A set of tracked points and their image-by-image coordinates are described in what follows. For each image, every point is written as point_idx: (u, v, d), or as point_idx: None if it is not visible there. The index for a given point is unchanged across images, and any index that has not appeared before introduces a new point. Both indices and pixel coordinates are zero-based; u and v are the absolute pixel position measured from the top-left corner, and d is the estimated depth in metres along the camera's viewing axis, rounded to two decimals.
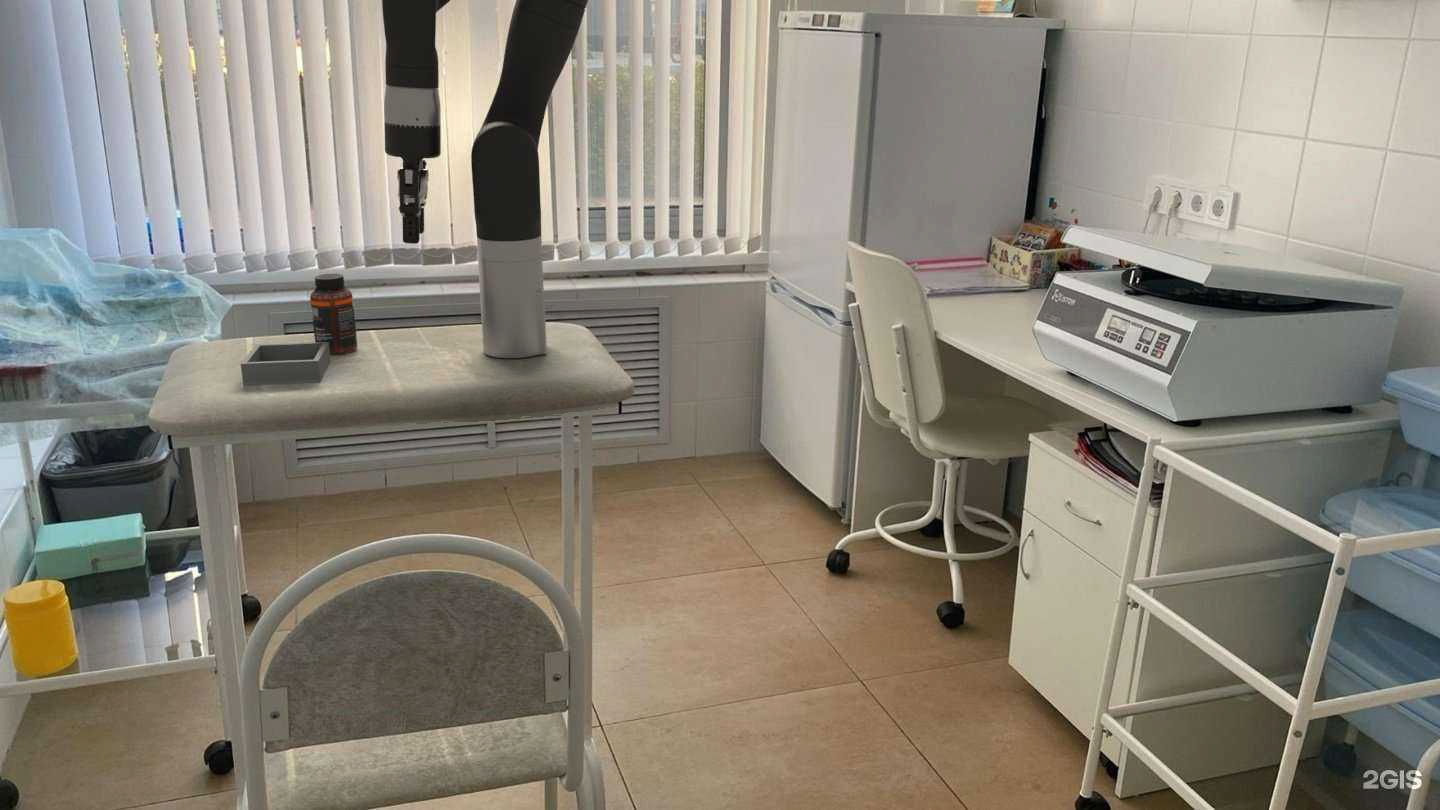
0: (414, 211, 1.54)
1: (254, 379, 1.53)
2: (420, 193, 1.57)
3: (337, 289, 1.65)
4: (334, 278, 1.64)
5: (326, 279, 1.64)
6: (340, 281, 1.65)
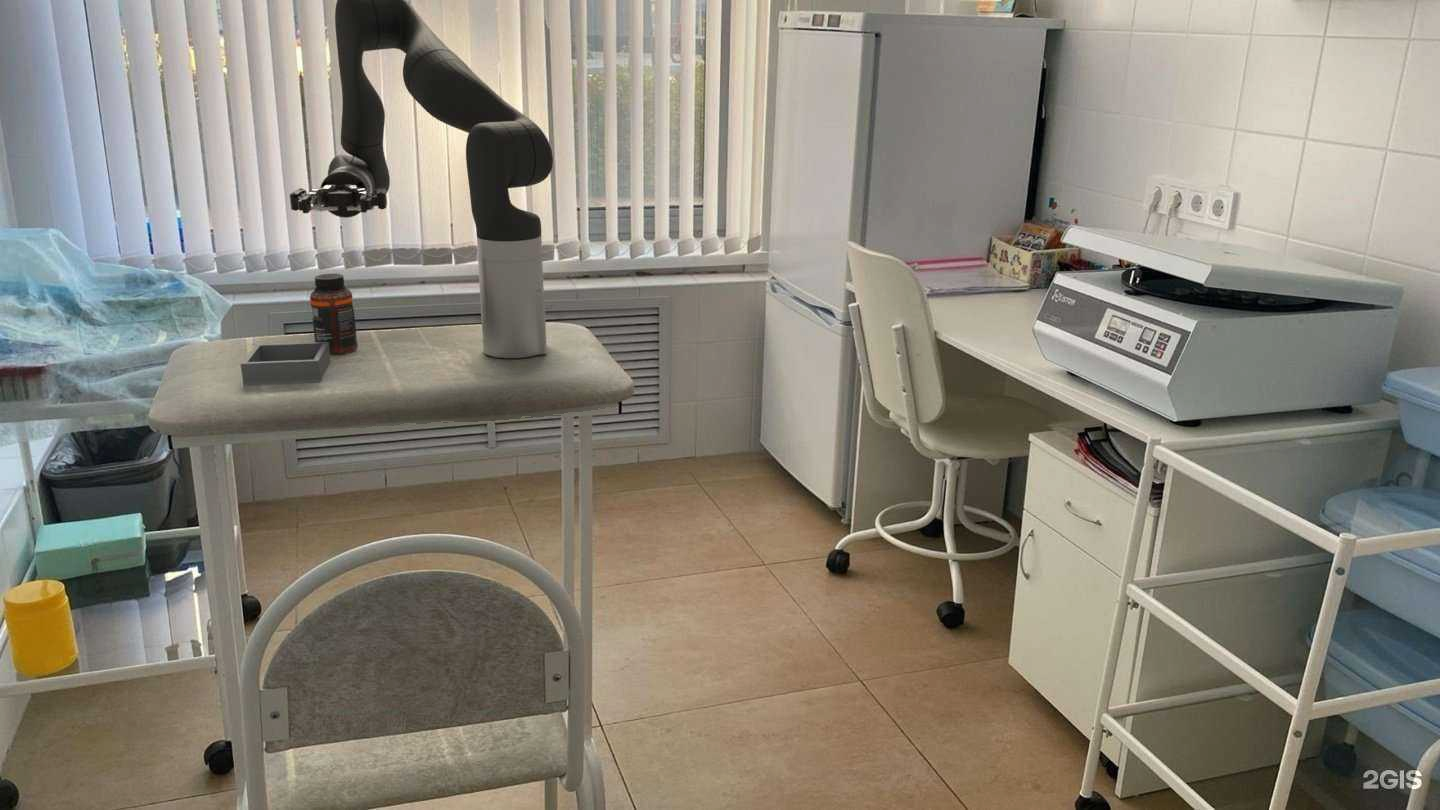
0: (290, 197, 1.76)
1: (254, 379, 1.53)
2: None
3: (337, 289, 1.65)
4: (334, 278, 1.64)
5: (326, 279, 1.64)
6: (340, 281, 1.65)
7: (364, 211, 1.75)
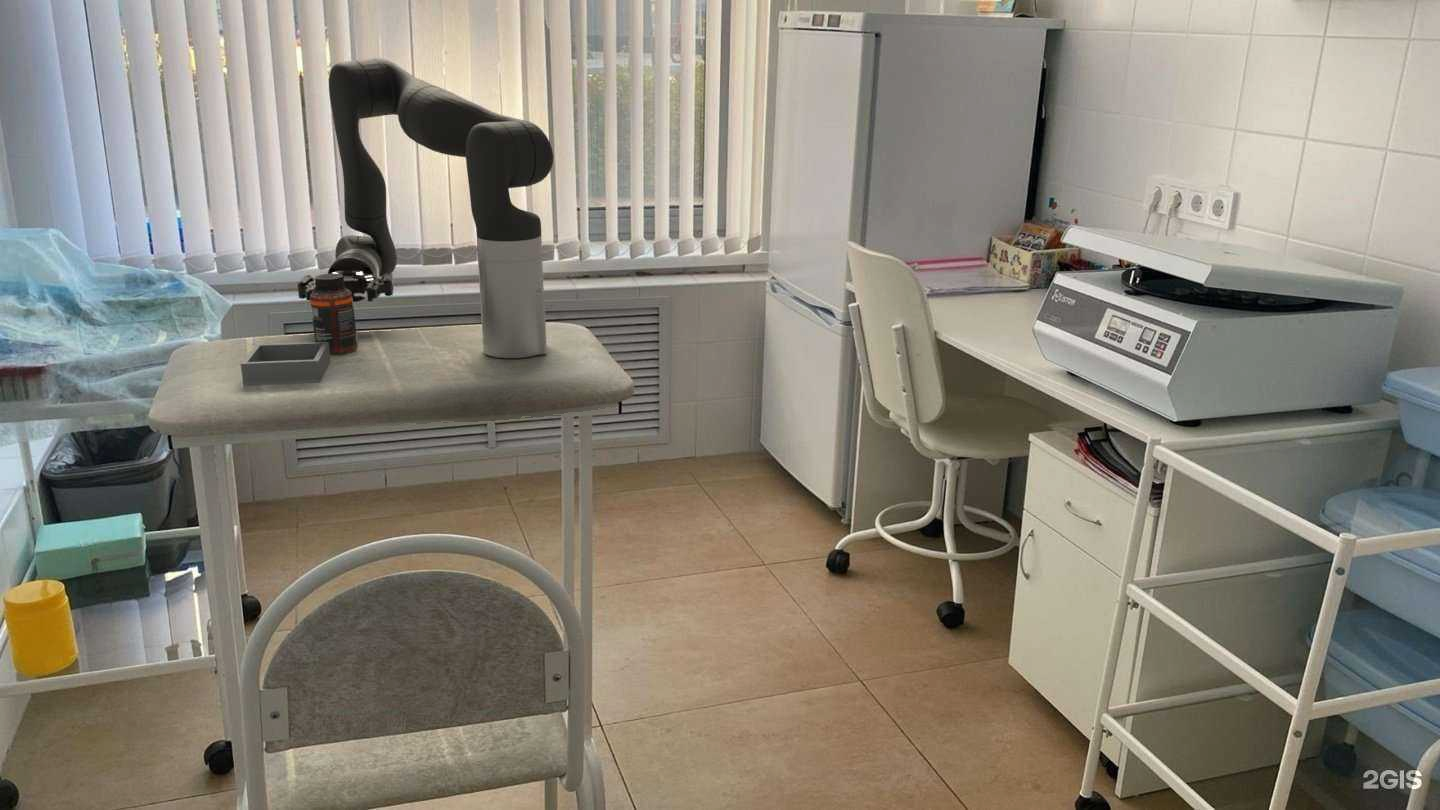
0: (298, 285, 1.78)
1: (254, 379, 1.53)
2: None
3: (337, 289, 1.65)
4: (334, 278, 1.64)
5: (326, 279, 1.64)
6: (340, 281, 1.65)
7: (371, 300, 1.76)
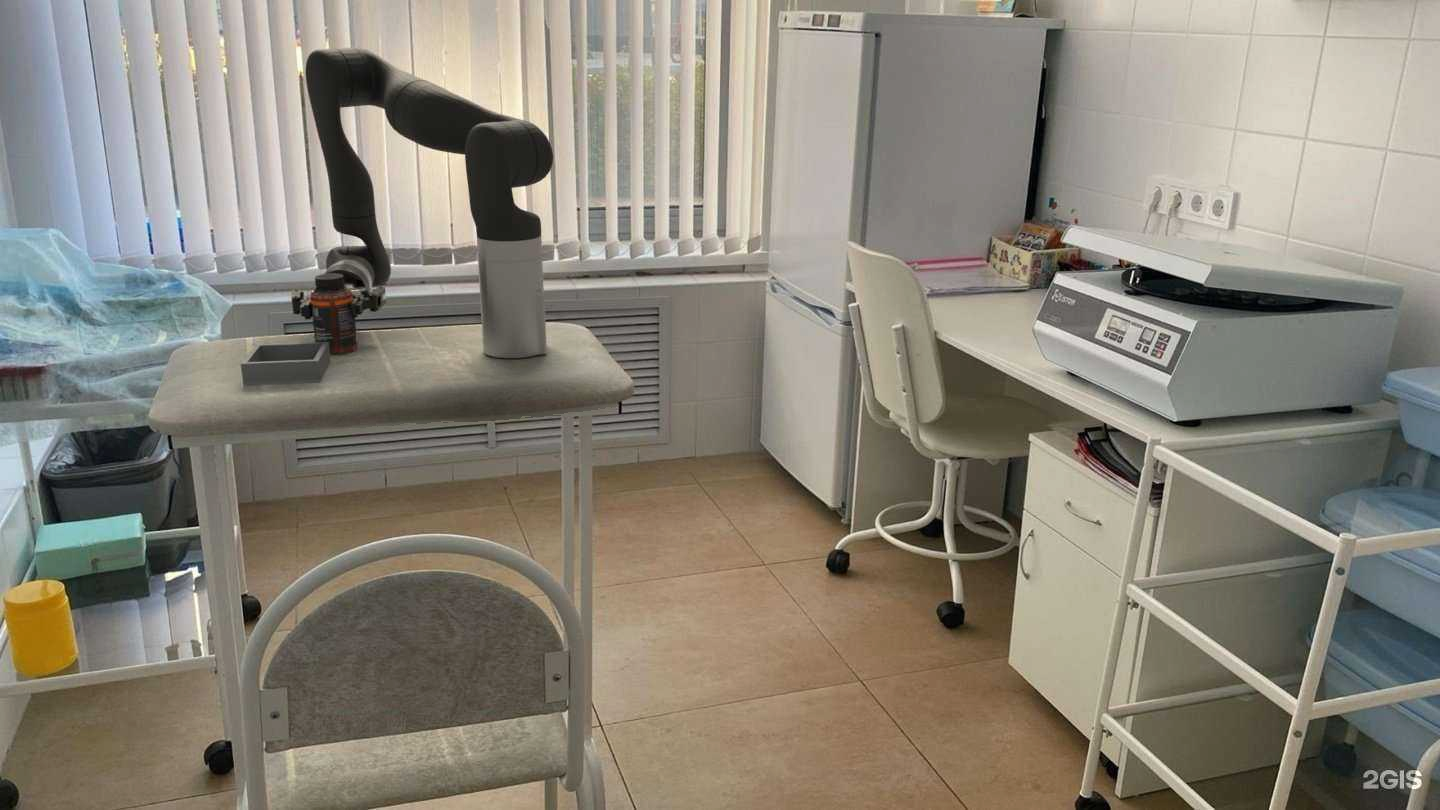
0: (292, 300, 1.68)
1: (254, 379, 1.53)
2: None
3: (337, 289, 1.65)
4: (334, 278, 1.64)
5: (326, 279, 1.64)
6: (340, 281, 1.65)
7: (355, 316, 1.66)
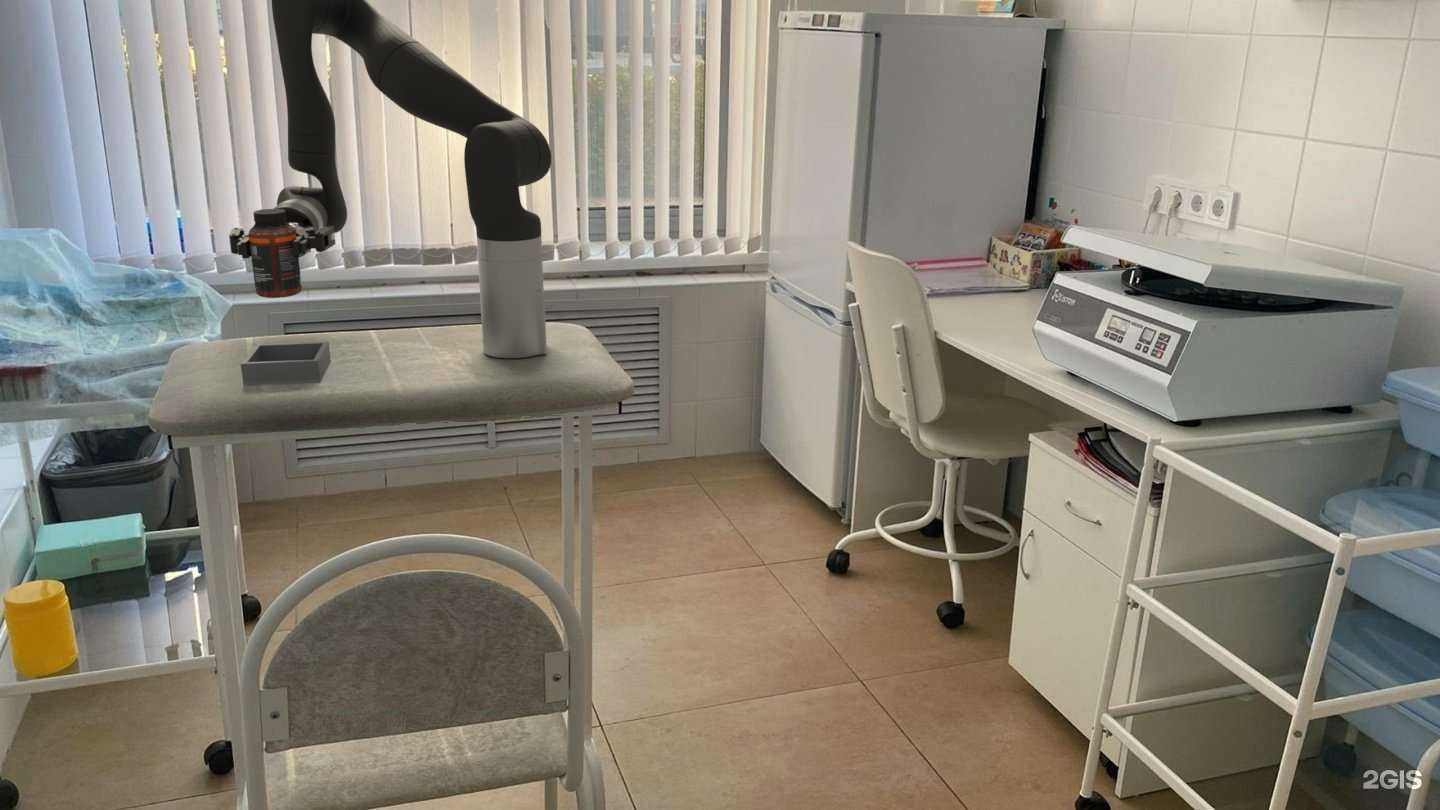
0: (230, 238, 1.54)
1: (254, 379, 1.53)
2: None
3: (278, 225, 1.50)
4: (274, 213, 1.50)
5: (265, 214, 1.50)
6: (281, 216, 1.51)
7: (297, 255, 1.51)
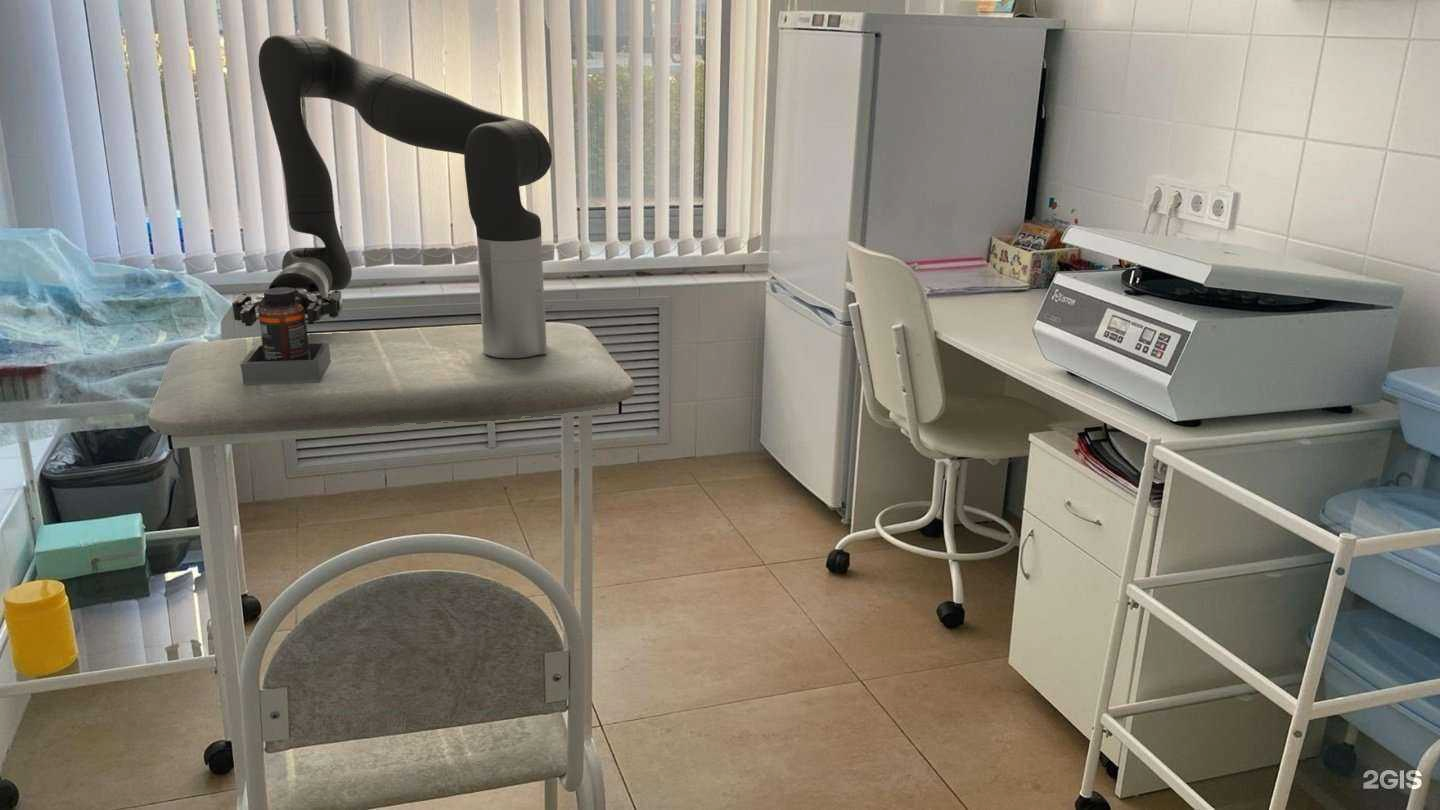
0: (233, 305, 1.57)
1: (254, 379, 1.53)
2: None
3: (287, 305, 1.54)
4: (284, 293, 1.53)
5: (275, 294, 1.53)
6: (291, 296, 1.54)
7: (312, 323, 1.55)
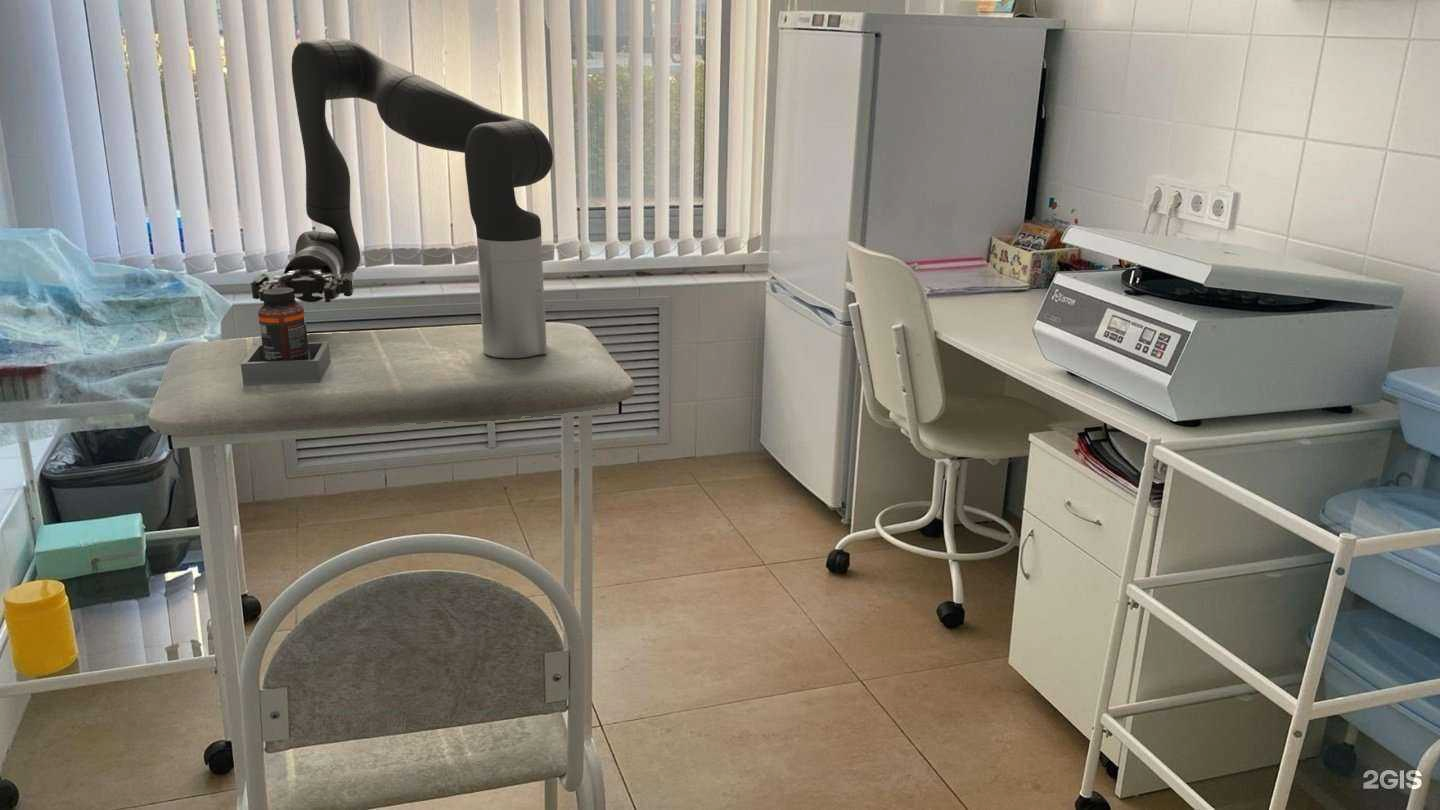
0: (251, 285, 1.69)
1: (254, 379, 1.53)
2: None
3: (287, 304, 1.54)
4: (283, 293, 1.53)
5: (275, 294, 1.53)
6: (290, 296, 1.54)
7: (328, 301, 1.67)
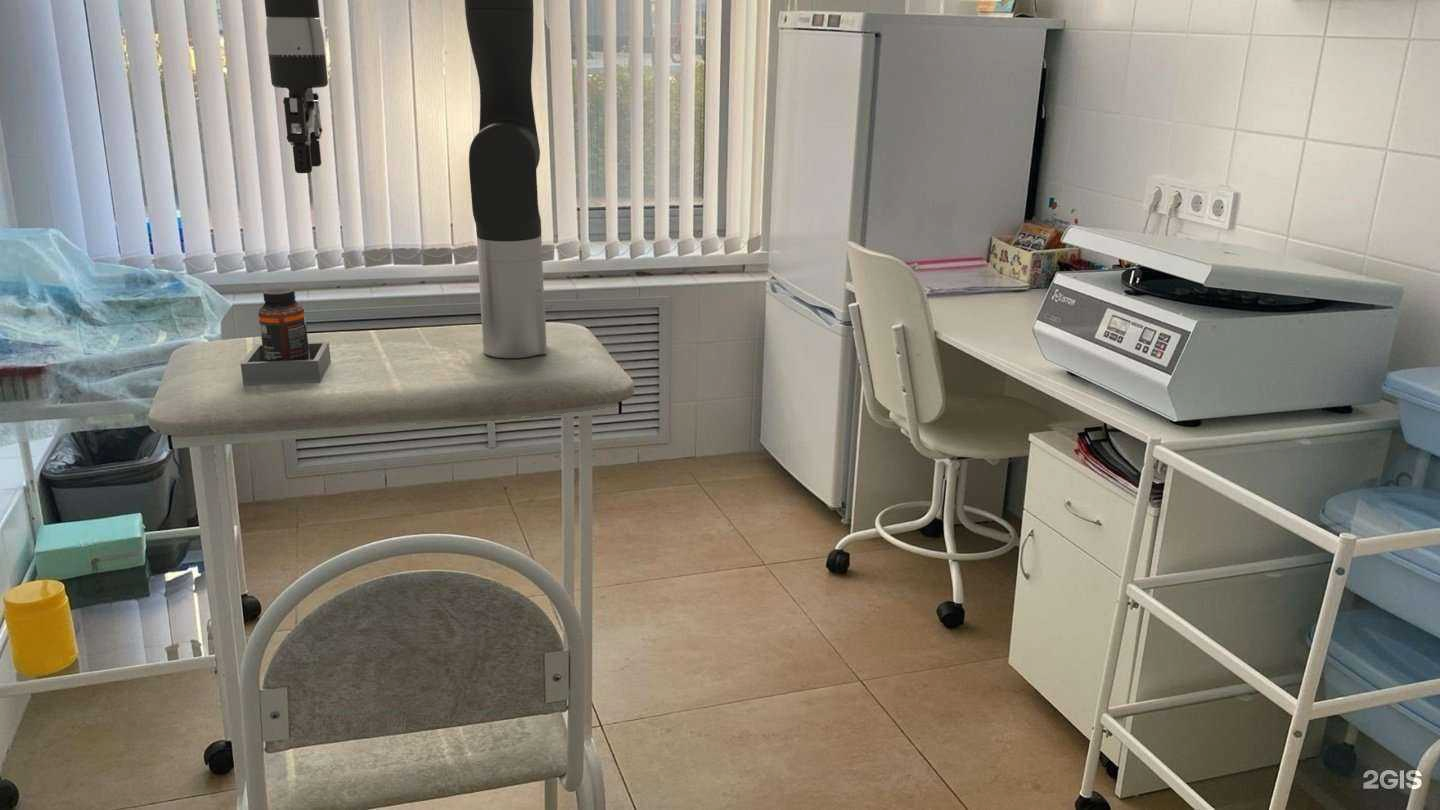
0: (302, 139, 1.56)
1: (254, 379, 1.53)
2: (308, 122, 1.59)
3: (287, 305, 1.54)
4: (283, 293, 1.53)
5: (275, 294, 1.53)
6: (290, 296, 1.54)
7: None
